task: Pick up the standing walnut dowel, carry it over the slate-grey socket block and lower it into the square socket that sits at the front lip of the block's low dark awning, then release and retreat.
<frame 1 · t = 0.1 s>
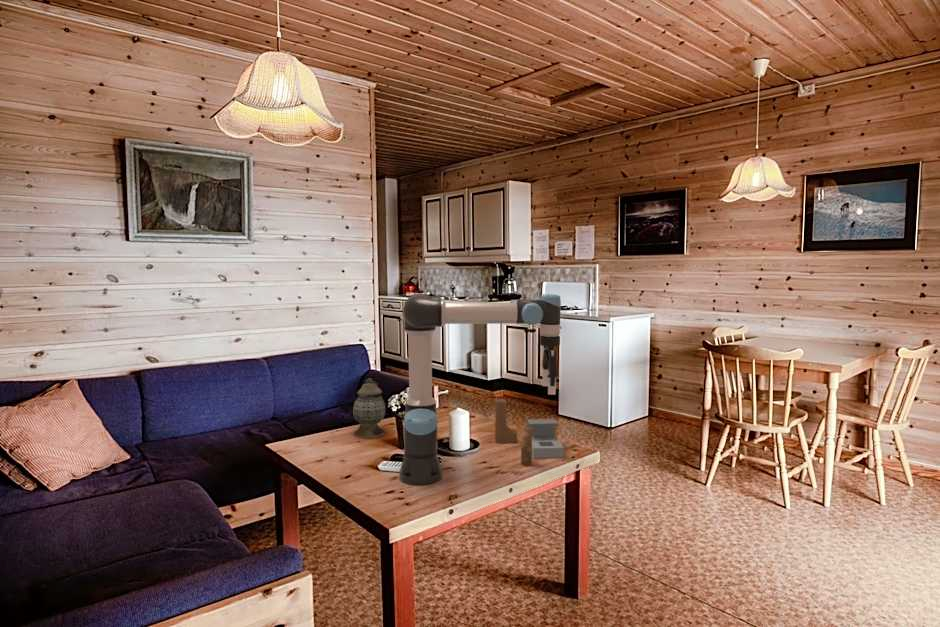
hand: (548, 390, 218), 28 cm above the table, fingers open, 13 cm apart
socket block: (544, 451, 232), on the table
lantern: (369, 433, 254), on the table
dowel: (526, 464, 217), on the table
wooden block: (505, 441, 244), on the table
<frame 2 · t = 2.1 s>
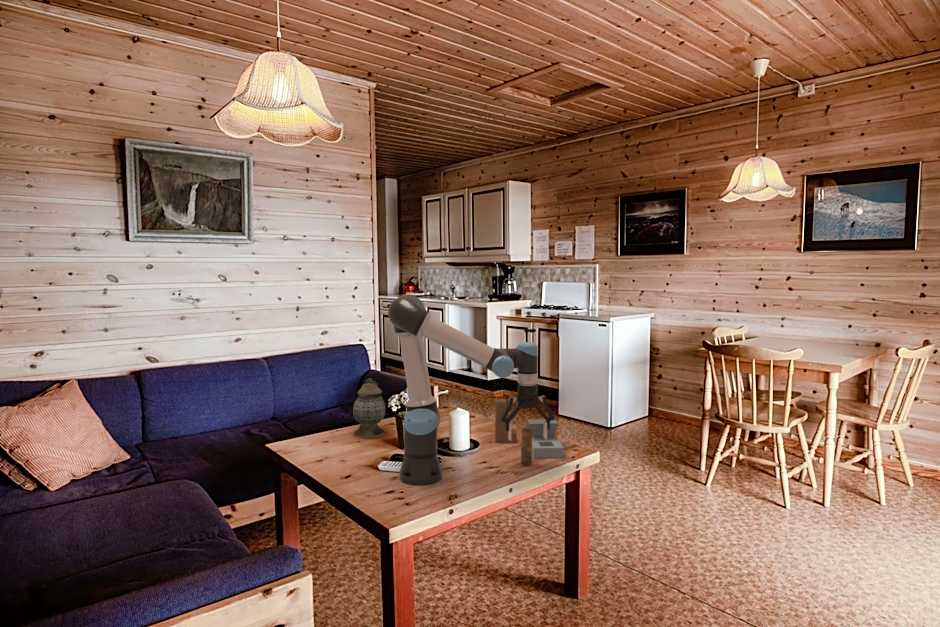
hand: (527, 438, 216), 10 cm above the table, fingers open, 13 cm apart
nothing on the table moved.
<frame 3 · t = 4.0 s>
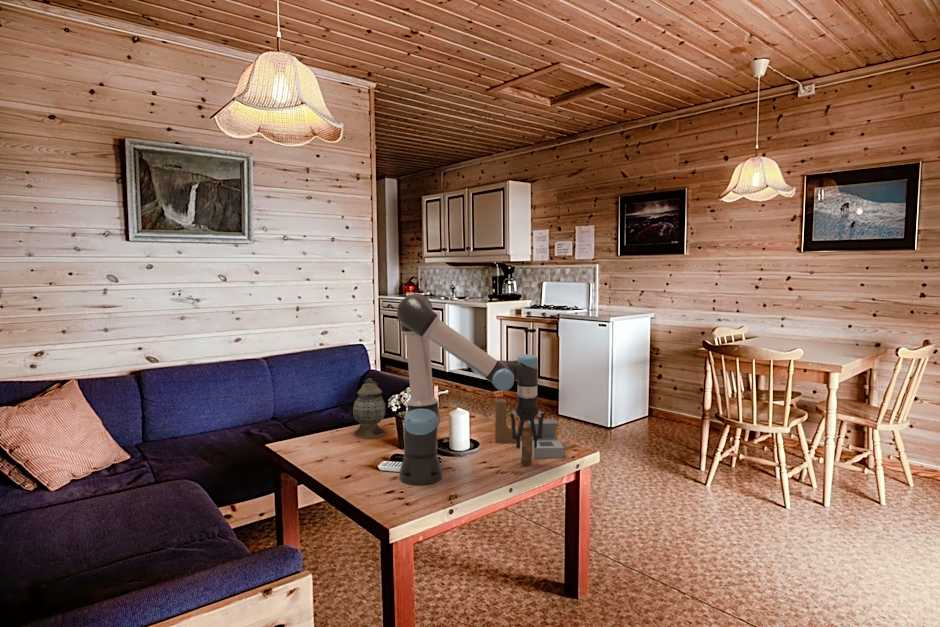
hand: (526, 456, 217), 3 cm above the table, fingers closed on dowel, 4 cm apart
dowel: (526, 464, 217), on the table, touching gripper
everything else where it was.
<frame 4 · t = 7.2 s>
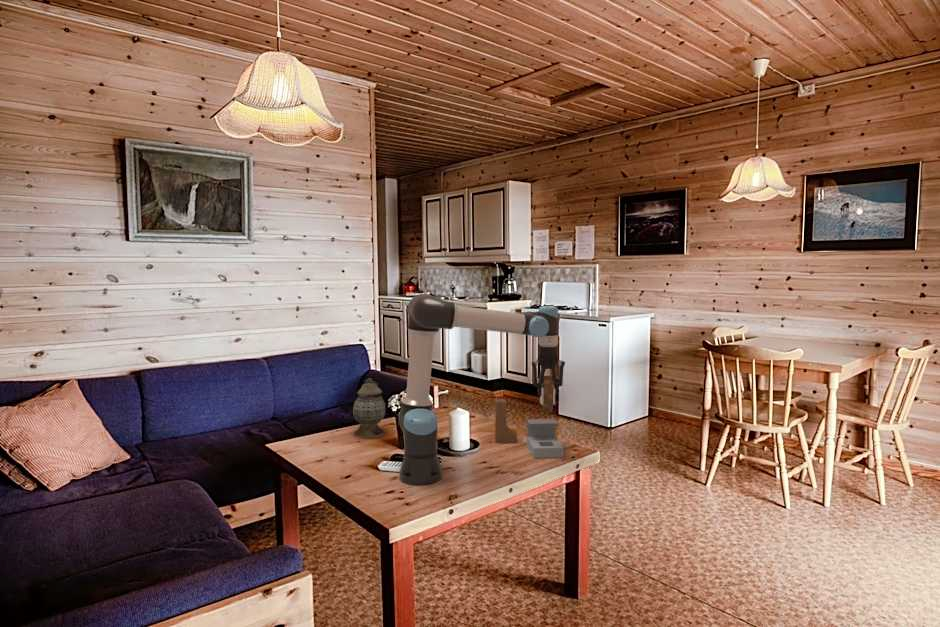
hand: (547, 403, 227), 21 cm above the table, fingers closed on dowel, 4 cm apart
dowel: (547, 411, 227), point 17 cm above the table, touching gripper
everything else where it was.
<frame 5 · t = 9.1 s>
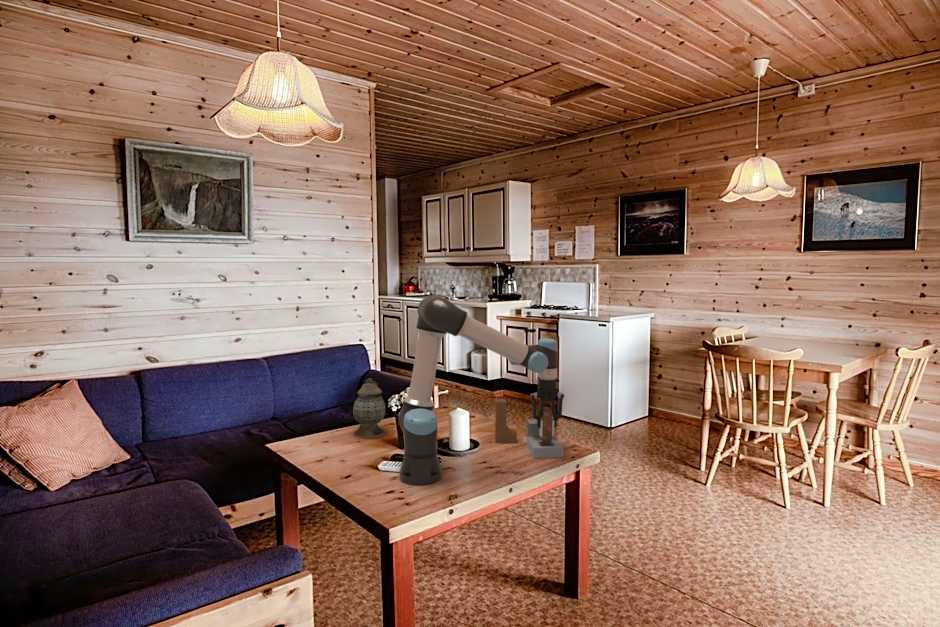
hand: (546, 435, 228), 8 cm above the table, fingers closed on dowel, 4 cm apart
dowel: (546, 442, 229), point 4 cm above the table, touching gripper
everything else where it was.
when the fingers open (5 cm above the table, at t = 10.5 s): dowel drops 1 cm, resting in socket block.
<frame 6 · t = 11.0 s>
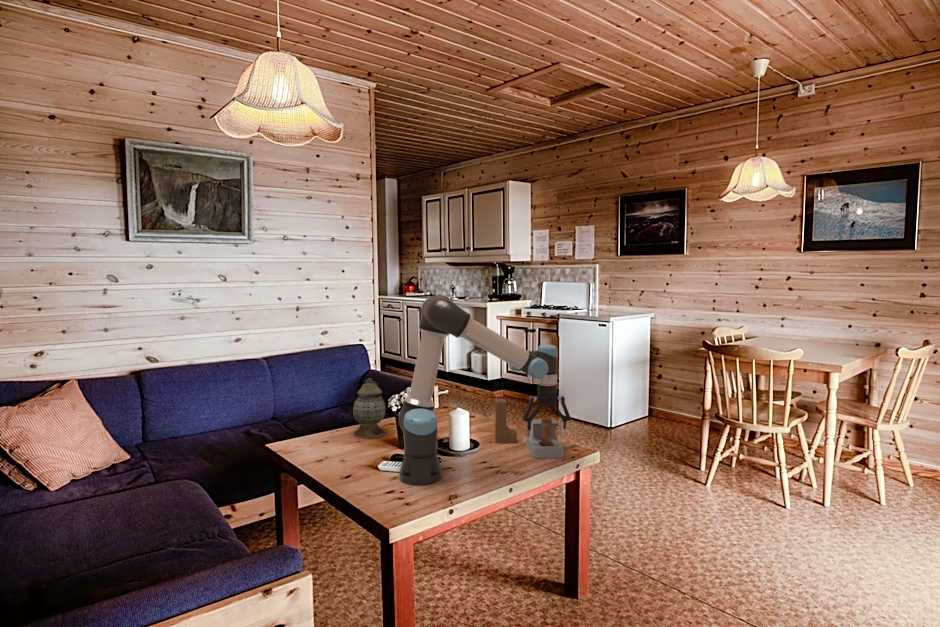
hand: (546, 437, 228), 7 cm above the table, fingers open, 11 cm apart
dowel: (546, 453, 229), resting in socket block
everything else where it was.
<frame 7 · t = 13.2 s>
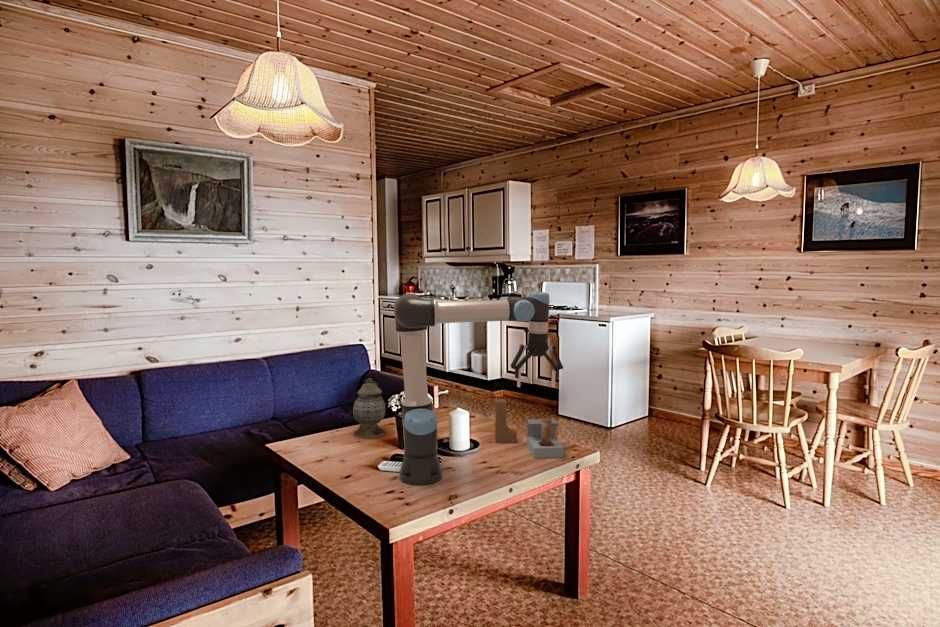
hand: (535, 386, 221), 28 cm above the table, fingers open, 13 cm apart
nothing on the table moved.
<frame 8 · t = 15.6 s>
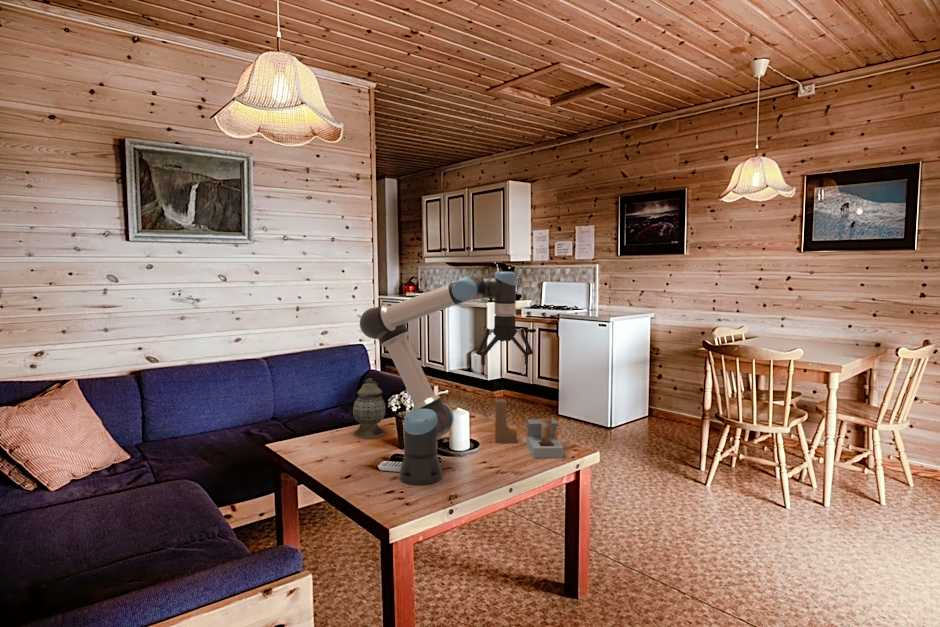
hand: (504, 374, 205), 37 cm above the table, fingers open, 13 cm apart
nothing on the table moved.
at the end: dowel 0.0 cm from the target spot on the socket block, point 0.0 cm above the socket block's base; dowel tilted 0°; the gripper is holding nothing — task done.
